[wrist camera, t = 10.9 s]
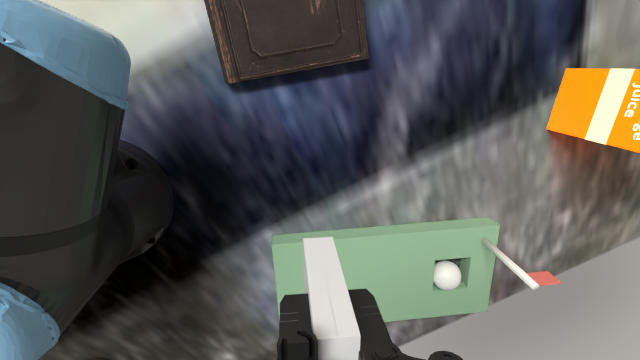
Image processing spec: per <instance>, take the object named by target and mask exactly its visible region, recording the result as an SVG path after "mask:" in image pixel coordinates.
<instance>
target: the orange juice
mask: <svg viewBox="0 0 640 360" xmlns="http://www.w3.org/2000/svg"><path fill="white" fill-rule="evenodd" d="M546 129H548V130H552V131H556V132H560V133H564V134H568V135H571V136H575V137H579V138H583V139H586V140H589V141H593V142H597V143H601V144H605V145H611V146H615V147H619V148H622V149H626V150H630V151H634V152H638V153H640V70H638V69H584V68H566V70H565V73H564V76H563V79H562V83H561V86H560V89H559V92H558V95H557V98H556V101H555V104H554V107H553V110H552V113H551V116H550V119H549V122H548V125H547V128H546Z"/></svg>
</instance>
